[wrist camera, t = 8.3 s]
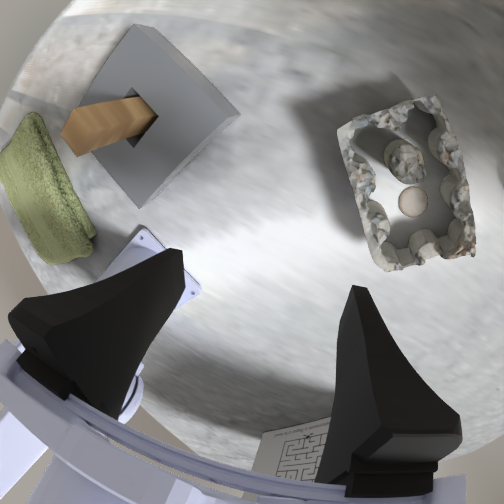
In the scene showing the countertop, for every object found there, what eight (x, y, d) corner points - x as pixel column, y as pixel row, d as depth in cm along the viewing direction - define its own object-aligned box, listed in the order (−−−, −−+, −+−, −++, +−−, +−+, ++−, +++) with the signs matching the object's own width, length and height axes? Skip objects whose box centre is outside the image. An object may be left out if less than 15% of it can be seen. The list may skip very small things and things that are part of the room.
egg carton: (459, 233, 18) (479, 263, 14) (372, 255, 21) (377, 289, 17) (432, 92, 13) (456, 93, 10) (329, 117, 17) (328, 124, 13)
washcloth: (57, 263, 33) (42, 276, 31) (6, 154, 26) (-11, 162, 24) (108, 244, 28) (89, 260, 25) (46, 101, 21) (23, 108, 18)
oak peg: (152, 130, 20) (77, 157, 13) (137, 113, 19) (60, 134, 13) (167, 112, 19) (91, 131, 12) (152, 94, 18) (73, 108, 12)
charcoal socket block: (156, 197, 23) (139, 209, 21) (89, 118, 20) (69, 123, 18) (240, 114, 18) (228, 117, 16) (154, 27, 15) (134, 23, 13)
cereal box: (292, 447, 42) (256, 566, 22) (262, 431, 41) (216, 560, 20) (404, 418, 31) (385, 582, 10) (379, 398, 29) (350, 591, 9)
